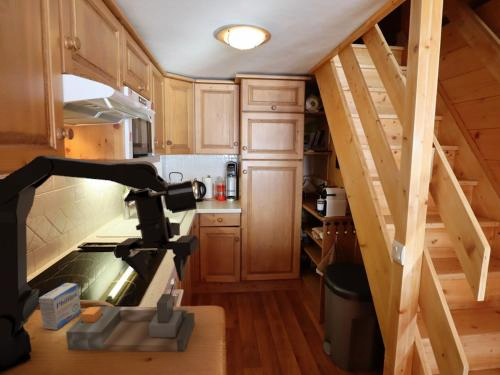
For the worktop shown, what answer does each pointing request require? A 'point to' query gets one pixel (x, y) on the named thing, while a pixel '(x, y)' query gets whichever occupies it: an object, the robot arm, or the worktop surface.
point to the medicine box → (60, 306)
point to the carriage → (165, 318)
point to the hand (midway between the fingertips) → (163, 280)
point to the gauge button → (91, 315)
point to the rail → (127, 331)
